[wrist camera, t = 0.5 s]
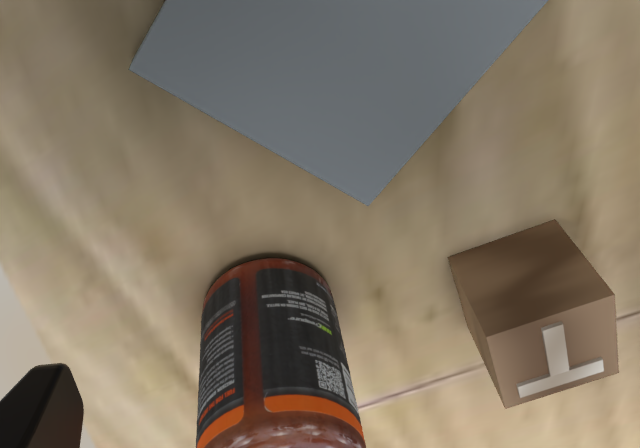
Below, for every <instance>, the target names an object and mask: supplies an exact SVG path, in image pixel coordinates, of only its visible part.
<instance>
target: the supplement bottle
mask: <svg viewBox="0 0 640 448" xmlns="http://www.w3.org/2000/svg"><path fill="white" fill-rule="evenodd" d="M200 347H201V349H200V373H199V392H198V416H197V437H196V448H366V445H365V440H364V436H363V432H362V426H361V421H360V417H359V412H358V408H357V403H356V399H355V394H354V390H353V386H352V381H351V377H350V371H349V367H348V363H347V358H346V353H345V349H344V344H343V340H342V335H341V330H340V326H339V322H338V317H337V312H336V308H335V304H334V301H333V297H332V294H331V291H330V289H329V286H328V285H327V283H326V281H325V280H324V279H323V278H322V277H321V276H320V275H319V274H318V273H317V272H315V271H314V270H313V269H311V268H310V267H307V266H305V265H304V264H301V263H298V262H295V261H291V260H288V259H279V258H266V259H259V260H255V261H250V262H246V263H244V264H241V265H238V266H236V267H234V268H232V269H230V270H229V271H227V272H226V273H225V274H223V275H222V276H221V277H220V278H219V279H218V280H217V281H216V282H215V283H214V284H213V285H212V287H211V288H210V290H209V291H208V293H207V295H206V298H205V300H204V305H203V313H202V321H201V344H200Z"/></svg>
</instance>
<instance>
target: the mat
mask: <svg viewBox="0 0 640 448" xmlns="http://www.w3.org/2000/svg"><path fill="white" fill-rule="evenodd" d="M547 1H548V0H165V2H164V4H163V6H162V7H161V9H160V11H159V13H158V15H157V16H156V18H155V20H154V22H153V24H152V25H151V27H150V29H149V31H148V33H147V34H146V36H145V38H144V40H143V42H142V44H141V45H140V47H139V49H138V51H137V53H136V54H135V56H134V58H133V60H132V63H131V65H130V67H129V70H130V71H132V72H134V73H136V74H137V75H139V76H141V77H143V78H144V79H146V80H148V81H150V82H151V83H153V84H155V85H157V86H158V87H160V88H162V89H164V90H165V91H167V92H169V93H171V94H172V95H174V96H176V97H178V98H179V99H181V100H183V101H185V102H186V103H188V104H190V105H192V106H193V107H195V108H197V109H199V110H200V111H202V112H204V113H206V114H207V115H209V116H211V117H213V118H214V119H216V120H218V121H220V122H221V123H223V124H225V125H227V126H228V127H230V128H232V129H234V130H235V131H237V132H239V133H241V134H243V135H244V136H246V137H248V138H250V139H251V140H253V141H255V142H257V143H258V144H260V145H262V146H264V147H265V148H267V149H269V150H271V151H272V152H274V153H276V154H278V155H279V156H281V157H283V158H285V159H286V160H288V161H290V162H292V163H293V164H295V165H297V166H299V167H300V168H302V169H304V170H306V171H307V172H309V173H311V174H313V175H314V176H316V177H318V178H320V179H321V180H323V181H325V182H327V183H328V184H330V185H332V186H334V187H335V188H337V189H339V190H341V191H342V192H344V193H346V194H348V195H349V196H351V197H353V198H355V199H356V200H358V201H360V202H362V203H363V204H365V205H367V206H369V205H370V204H371V203H372V201H373V200H374V199H375V198H376V197H377V196H378V195H379V193H380V192H381V191H382V190H383V189H384V188H385V186H386V185H387V184H388V183H389V182H390V181H391V180H392V178H393V177H394V176H395V175H396V174H397V173H398V172H399V170H400V169H401V168H402V167H403V166H404V165H405V164H406V162H407V161H408V160H409V159H410V158H411V157H412V156H413V154H414V153H415V152H416V151H417V150H418V149H419V148H420V146H421V145H422V144H423V143H424V142H425V141H426V140H427V138H428V137H429V136H430V135H431V134H432V133H433V132H434V130H435V129H436V128H437V127H438V126H439V125H440V124H441V122H442V121H443V120H444V119H445V118H446V117H447V116H448V114H449V113H450V112H451V111H452V110H453V109H454V108H455V106H456V105H457V104H458V103H459V102H460V101H461V100H462V98H463V97H464V96H465V95H466V94H467V93H468V92H469V90H470V89H471V88H472V87H473V86H474V85H475V84H476V82H477V81H478V80H479V79H480V78H481V77H482V76H483V74H484V73H485V72H486V71H487V70H488V69H489V68H490V66H491V65H492V64H493V63H494V62H495V61H496V60H497V58H498V57H499V56H500V55H501V54H502V53H503V52H504V50H505V49H506V48H507V47H508V46H509V45H510V44H511V42H512V41H513V40H514V39H515V38H516V37H517V35H518V34H519V33H520V32H521V31H522V30H523V29H524V27H525V26H526V25H527V24H528V23H529V22H530V21H531V19H532V18H533V17H534V16H535V15H536V14H537V13H538V11H539V10H540V9H541V8H542V7H543V6H544V5H545V3H546V2H547Z"/></svg>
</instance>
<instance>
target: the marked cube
mask: <svg viewBox="0 0 640 448" xmlns="http://www.w3.org/2000/svg"><path fill="white" fill-rule="evenodd" d="M448 260H449V264H450V267H451V270H452V274H453V277H454V281H455V284H456V288H457V291H458V294H459V298H460V301H461V305H462V308H463V312H464V315H465V319H466V322H467V325H468V328H469V330H470V333H471V335H472V337H473V339H474V341H475V344H476V346H477V348H478V350H479V352H480V354H481V357H482V359H483V361H484V363H485V365H486V368H487V370H488V372H489V374H490V376H491V379H492V381H493V383H494V385H495V387H496V389H497V392H498V394H499V396H500V398H501V400H502V403H503V405H504V407H505V409H507V408H510V407H513V406H516V405H519V404H522V403H525V402H529V401H532V400H535V399H538V398H541V397H544V396H547V395H551V394H554V393H557V392H560V391H563V390H566V389H569V388H573V387H576V386H579V385H582V384H585V383H588V382H591V381H595V380H598V379H601V378H604V377H607V376H610V375H613V374H617V373H619V368H618V349H617V330H616V310H615V294H614V293H613V292H612V291H611V289H610V288H609V287H608V286H607V284H606V283H605V282H604V280H603V279H602V278H601V277H600V275H599V274H598V273H597V272H596V270H595V269H594V268H593V267H592V265H591V264H590V263H589V262H588V260H587V259H586V258H585V257H584V255H583V254H582V253H581V251H580V250H579V249H578V248H577V246H576V245H575V244H574V243H573V241H572V240H571V239H570V238H569V236H568V235H567V234H566V233H565V231H564V230H563V229H562V228H561V226H560V225H559V224H558V222H557V221H556V220H552V221H549V222H546V223H543V224H540V225H538V226H535V227H532V228H529V229H526V230H523V231H521V232H518V233H515V234H512V235H509V236H506V237H504V238H501V239H498V240H495V241H492V242H489V243H486V244H484V245H481V246H478V247H475V248H472V249H469V250H467V251H464V252H461V253H458V254H455V255H452V256H450V257H448Z"/></svg>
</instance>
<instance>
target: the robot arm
mask: <svg viewBox="0 0 640 448" xmlns="http://www.w3.org/2000/svg"><path fill="white" fill-rule="evenodd" d="M83 413H84V409H83V401H82V398H81V396H80V393H79V391H78V388H77V386H76V383H75V381H74V378H73V376H72V373H71V371H70V369H69V367H68V366H67V365H66V364H63V363H57V364H48V365H47V364H46V365H38V366H35V367H34V368H32V369H31V370H30V371H29V372H28V373H27V374H26V375H25V376H24V377H23V378H22V379H21V380H20V381H19V382H18V383H17V384H16V385H15V386H14V387H13V388H12V389H11V390H10V391H9V393H7V394H6V396H5V397H4V398H3V399H2V400H1V401H0V448H80V439H81V432H82V424H83Z"/></svg>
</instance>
